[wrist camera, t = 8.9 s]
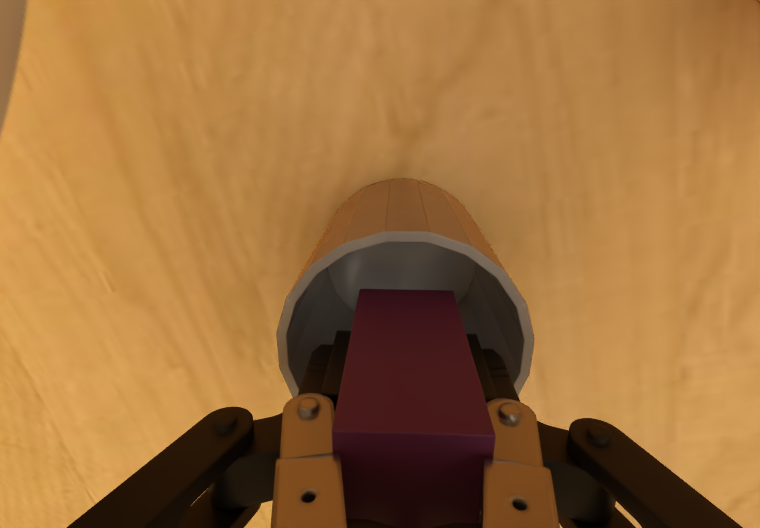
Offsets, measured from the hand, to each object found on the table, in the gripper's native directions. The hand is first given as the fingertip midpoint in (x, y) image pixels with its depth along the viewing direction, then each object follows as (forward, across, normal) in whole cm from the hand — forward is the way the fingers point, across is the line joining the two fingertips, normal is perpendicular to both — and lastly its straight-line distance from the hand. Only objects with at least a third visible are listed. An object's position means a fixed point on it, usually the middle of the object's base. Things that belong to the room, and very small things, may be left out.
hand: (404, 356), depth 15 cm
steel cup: (+10, 0, 0) cm, 10 cm away
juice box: (+1, 0, 0) cm, 1 cm away
